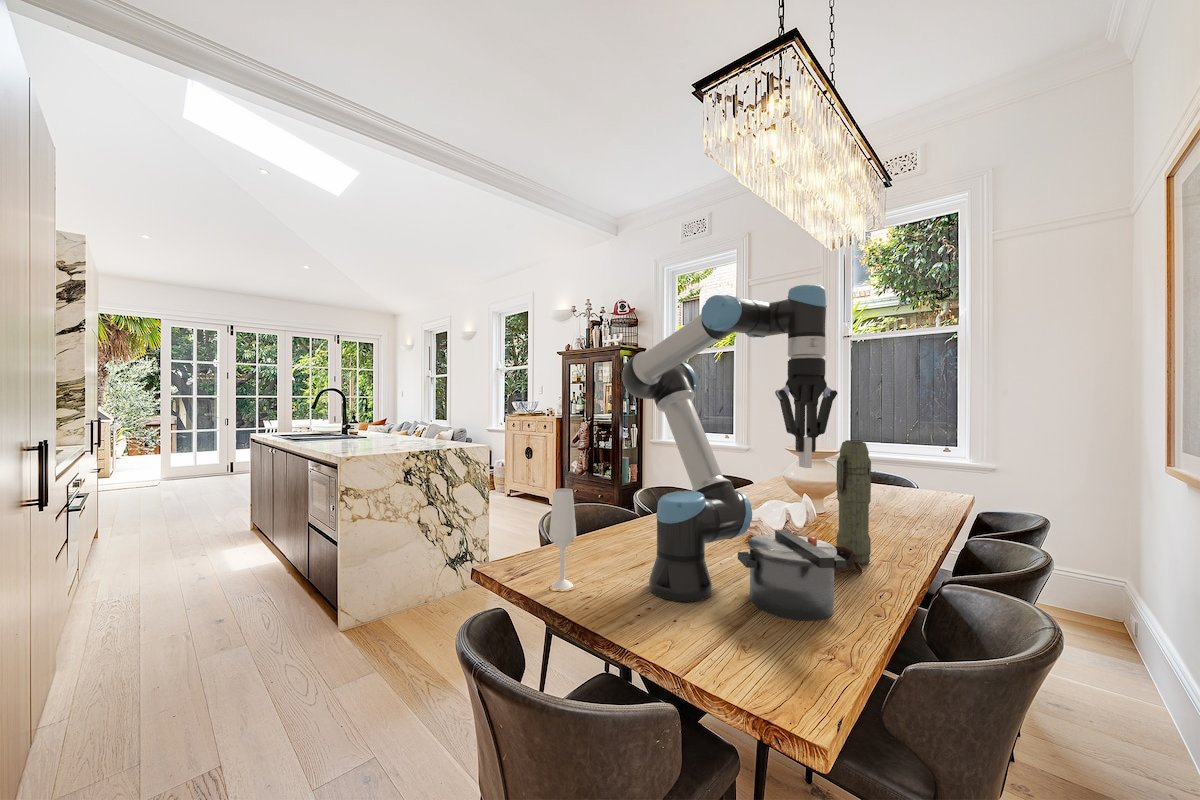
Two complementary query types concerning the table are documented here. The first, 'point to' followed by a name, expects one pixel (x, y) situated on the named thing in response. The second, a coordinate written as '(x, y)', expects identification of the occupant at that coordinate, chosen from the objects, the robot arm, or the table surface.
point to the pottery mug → (848, 559)
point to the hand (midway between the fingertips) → (805, 467)
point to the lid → (794, 548)
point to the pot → (791, 587)
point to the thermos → (854, 498)
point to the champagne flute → (562, 529)
